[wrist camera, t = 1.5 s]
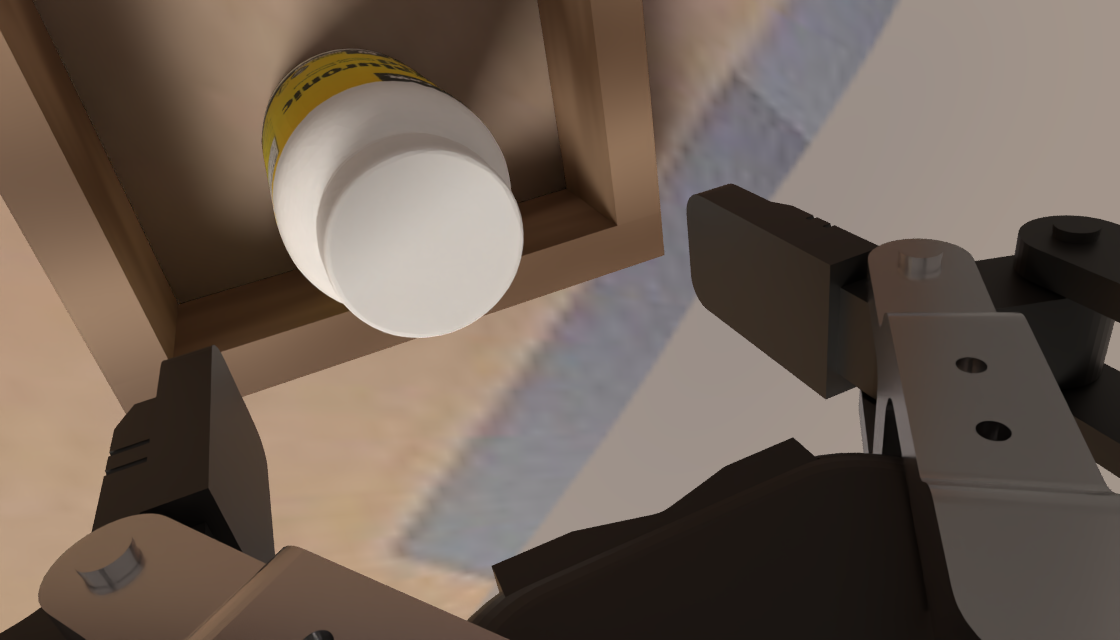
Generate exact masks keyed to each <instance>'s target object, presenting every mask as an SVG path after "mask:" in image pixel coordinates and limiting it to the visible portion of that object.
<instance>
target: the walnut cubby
mask: <svg viewBox="0 0 1120 640" xmlns="http://www.w3.org/2000/svg"><path fill="white" fill-rule="evenodd" d="M538 6H539V13H540V19H541V26H542V32H543V39H544V45H545V51H546V58H547V64H548V71H549V77H550V84H551V90H552V97H553V103H554V110H555V116H556V123H557V129H558V136H559V142H560V149H561V155H562V162H563V168H564V174H565V181H566V187H567V189H564V190H561V191H558V192H554V193H551V194H547V195H544V196H541V197H537V198H534V199H531V200H527V201H524V202H521V203H517V204H518V207H519V210H520V213H521V217H522V223H523V231H524V243H523V251H522V257H521V260H520V264H519V267H518V270H517V273H516V275H515V277H514V279H513V281H512V283H511V285H510V287H509V288H508V290H507V291H506V292H505V294H504V295H503V296H502V298H501V299H500V300H499V301H498V302H497V304H496V305H495V306H494V307H493V308H492V309H490V310H489V311H488V312H487V313H486V314H484V315H487V314H490V313H493V312H496V311H499V310H502V309H505V308H508V307H511V306H514V305H517V304H520V303H523V302H526V301H529V300H532V299H535V298H538V297H541V296H544V295H547V294H550V293H553V292H556V291H559V290H562V289H565V288H568V287H571V286H573V285H576V284H579V283H582V282H585V281H588V280H591V279H594V278H597V277H600V276H603V275H606V274H609V273H612V272H615V271H618V270H621V269H624V268H627V267H630V266H633V265H636V264H639V263H642V262H645V261H648V260H651V259H654V258H657V257H660V256H663V255H664V245H663V234H662V222H661V211H660V199H659V188H658V176H657V165H656V153H655V142H654V130H653V119H652V107H651V96H650V85H649V73H648V62H647V50H646V39H645V27H644V16H643V4H642V0H538ZM0 194H1V196H2V198H3V200H4V201H5V203H6V205H7V207H8V208H9V210H10V212H11V214H12V215H13V217H14V219H15V221H16V222H17V224H18V226H19V228H20V229H21V231H22V233H23V235H24V236H25V238H26V240H27V242H28V243H29V245H30V247H31V249H32V250H33V252H34V254H35V256H36V257H37V259H38V261H39V263H40V264H41V266H42V268H43V270H44V271H45V273H46V275H47V277H48V278H49V280H50V282H51V284H52V285H53V287H54V289H55V291H56V292H57V294H58V296H59V298H60V299H61V301H62V303H63V305H64V306H65V308H66V310H67V312H68V313H69V315H70V317H71V319H72V320H73V322H74V324H75V326H76V327H77V329H78V331H79V333H80V334H81V336H82V338H83V340H84V341H85V343H86V345H87V347H88V348H89V350H90V352H91V354H92V355H93V357H94V359H95V361H96V362H97V364H98V366H99V368H100V369H101V371H102V373H103V375H104V376H105V378H106V380H107V382H108V383H109V385H110V387H111V389H112V390H113V392H114V394H115V396H116V397H117V399H118V401H119V403H120V404H121V406H122V408H123V410H124V411H125V413H126V414H127V413H128V412H129V410H130V409H131V408H132V407H133V405H134V404H137V403H140V402H143V401H146V400H149V399H152V398H155V397H156V394H157V387H158V381H159V374H160V367H161V362H162V361H164V360H167V359H170V358H173V357H176V356H180V355H183V354H186V353H189V352H192V351H195V350H199V349H202V348H205V347H208V346H211V345H215V346H217V348H218V349H219V350H220V352H221V354H222V356H223V357H224V360H225V362H226V364H227V366H228V368H229V370H230V372H231V375H232V377H233V379H234V381H235V383H236V385H237V388H238V390H239V392H240V394H241V396H242V397H243V396H246V395H249V394H252V393H255V392H258V391H261V390H264V389H267V388H270V387H273V386H276V385H279V384H282V383H285V382H288V381H291V380H294V379H297V378H300V377H303V376H306V375H309V374H312V373H315V372H318V371H321V370H324V369H327V368H330V367H332V366H335V365H338V364H341V363H344V362H347V361H350V360H353V359H356V358H359V357H362V356H365V355H368V354H371V353H374V352H377V351H380V350H383V349H386V348H389V347H392V346H395V345H398V344H401V343H404V342H407V341H410V340H413V339H416V338H411V337H401V336H396V335H392V334H388V333H385V332H383V331H380V330H378V329H376V328H373V327H371V326H370V325H368V324H367V323H365V322H363V321H362V320H360V319H359V318H358V317H357V316H355V315H354V314H353V313H352V312H351V311H350V310H349V309H348V308H347V307H346V306H345V305H344V304H342V303H340V302H338V301H336V300H334V299H333V298H331V297H329V296H328V295H326V294H325V293H323V292H322V291H321V290H319V289H318V288H317V287H316V286H315V285H313V284H312V283H311V282H310V281H309V280H308V279H307V278H306V277H305V276H304V275H303V273H302V272H301V271H300V270H299V269H296V270H293V271H289V272H286V273H283V274H279V275H276V276H272V277H269V278H266V279H262V280H259V281H256V282H252V283H249V284H246V285H242V286H239V287H236V288H232V289H229V290H226V291H222V292H219V293H215V294H212V295H209V296H205V297H202V298H199V299H195V300H192V301H189V302H185V303H182V304H179V305H178V303H177V301H176V299H175V297H174V295H173V293H172V290H171V288H170V286H169V284H168V282H167V280H166V278H165V276H164V274H163V272H162V270H161V268H160V265H159V263H158V261H157V259H156V257H155V255H154V253H153V251H152V249H151V247H150V245H149V243H148V240H147V238H146V236H145V234H144V232H143V230H142V228H141V226H140V224H139V222H138V220H137V217H136V215H135V213H134V211H133V209H132V207H131V205H130V203H129V201H128V199H127V197H126V195H125V192H124V190H123V188H122V186H121V184H120V182H119V180H118V178H117V176H116V174H115V172H114V169H113V167H112V165H111V163H110V161H109V159H108V157H107V155H106V153H105V151H104V149H103V147H102V144H101V142H100V140H99V138H98V136H97V134H96V132H95V130H94V128H93V126H92V124H91V122H90V119H89V117H88V115H87V113H86V111H85V109H84V107H83V105H82V103H81V101H80V99H79V96H78V94H77V92H76V90H75V88H74V86H73V84H72V82H71V80H70V78H69V76H68V74H67V71H66V69H65V67H64V65H63V63H62V61H61V59H60V57H59V55H58V53H57V51H56V49H55V46H54V44H53V42H52V40H51V38H50V36H49V34H48V32H47V30H46V28H45V26H44V23H43V21H42V19H41V17H40V15H39V13H38V11H37V9H36V7H35V5H34V3H33V1H32V0H0ZM484 315H483V316H484Z"/></svg>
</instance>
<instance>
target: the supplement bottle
mask: <svg viewBox="0 0 1120 640" xmlns="http://www.w3.org/2000/svg"><path fill="white" fill-rule="evenodd" d="M262 149H263V156H264V162H265V167H266V172H267V178H268V183H269V188H270V194H271V199H272V204H273V210H274V215H275V219H276V223H277V226H278V229H279V232H280V235H281V238H282V240H283V243H284V245H285V247H286V249H287V251H288V253H289V255H290V256H291V258H292V260H293V262H294V263H295V265H296V266H297V267H298V269H299V270H300V271H301V272H302V273H303V275H304V276H305V277H306V278H307V279H308V280H309V281H310V282H311V283H312V284H313V285H315V286H316V287H317V288H318V289H319V290H321V291H322V292H323V293H325V294H326V295H328V296H329V297H331V298H333V299H334V300H336V301H338V302H340V303H342V304H344V305H345V306H346V307H347V308H348V309H349V310H350V311H351V312H352V313H353V314H354V315H355V316H357V317H358V318H359V319H360V320H362V321H363V322H365V323H367V324H368V325H370V326H371V327H373V328H376V329H378V330H380V331H383V332H385V333H388V334H392V335H396V336H401V337H411V338H425V337H434V336H440V335H444V334H448V333H451V332H454V331H457V330H459V329H461V328H464V327H466V326H468V325H469V324H471V323H473V322H474V321H476V320H478V319H479V318H480V317H482V316H483V315H484V314H486V313H487V312H488V311H489V310H490V309H492V308H493V307H494V306H495V305H496V304H497V302H498V301H499V300H500V299H501V298H502V296H503V295H504V294H505V292H506V291H507V290H508V288H509V287H510V285H511V283H512V281H513V279H514V277H515V275H516V273H517V270H518V267H519V264H520V260H521V257H522V251H523V243H524V231H523V223H522V217H521V213H520V210H519V207H518V204H517V201H516V199H515V197H514V195H513V193H512V191H511V183H510V177H509V172H508V168H507V164H506V161H505V158H504V156H503V153H502V151H501V149H500V147H499V145H498V144H497V142H496V140H495V138H494V137H493V135H492V134H491V132H490V131H489V130H488V128H487V127H486V126H485V125H484V123H483V122H482V121H481V120H480V119H479V118H478V117H477V116H476V115H475V114H474V113H473V112H472V111H471V110H469V109H468V108H467V107H466V106H465V105H464V104H463V103H461V102H460V101H458V100H457V99H455V98H454V97H452V96H451V95H450V94H448V93H446V92H445V91H443V90H442V89H440V88H439V87H437V86H436V85H434V84H433V83H432V82H430V81H429V80H427V79H426V78H424V77H423V76H421V75H420V74H419V73H417V72H416V71H414V70H413V69H411V68H409V67H408V66H406V65H405V64H403V63H401V62H400V61H398V60H396V59H393V58H391V57H389V56H387V55H384V54H381V53H377V52H374V51H369V50H363V49H338V50H332V51H328V52H324V53H321V54H318V55H316V56H313V57H311V58H309V59H308V60H306V61H304V62H302V63H301V64H299V65H298V66H296V67H295V68H294V69H293V70H292V71H290V72H289V73H288V74H287V75H286V76H285V77H284V78H283V80H282V81H281V82H280V83H279V85H278V86H277V88H276V89H275V91H274V92H273V94H272V97H271V99H270V101H269V103H268V106H267V109H266V112H265V116H264V122H263V130H262Z"/></svg>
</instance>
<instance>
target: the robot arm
mask: <svg viewBox="0 0 1120 640" xmlns="http://www.w3.org/2000/svg"><path fill="white" fill-rule="evenodd" d="M687 225H688V239H689V252H690V266H691V278H692V283H693V287H694V290H695V292H696V294H697V297H698V298H699V300H700V302H701V303H702V305H703V306H704V307H705V308H706V309H707V310H709V311H710V312H711V313H713V314H714V315H715V316H717V317H718V318H719V319H721V320H722V321H723V322H725V323H726V324H727V325H729V326H730V327H731V328H733V329H734V330H735V331H736V332H738V333H739V334H741V335H742V336H743V337H744V338H746V339H747V340H748V341H750V342H751V343H752V344H754V345H755V346H756V347H758V348H759V349H760V350H761V351H763V352H764V353H766V354H767V355H768V356H769V357H771V358H772V359H773V360H775V361H776V362H777V363H779V364H780V365H781V366H783V367H784V368H785V369H787V370H788V371H789V372H790V373H792V374H793V375H795V376H796V377H797V378H798V379H800V380H801V381H802V382H804V383H805V384H806V385H808V386H809V387H810V388H812V389H813V390H814V391H816V392H817V393H818V394H819V395H821V396H822V397H823V398H825V399H828V398H831V397H833V396H835V395H838V394H840V393H842V392H845V391H847V390H850V389H852V388H855V387H858V388H859V389H860V397H859V415H860V425H861V433H862V442H863V451H864V453H836V454H827V455H819V456H814V455H813V454H811V453H810V452H809V451H808V450H807V449H805V448H804V447H803V446H802V445H801V444H800V443H799V442H798V441H796V440H795V439H794V438H791V439H788V440H786V441H784V442H781V443H779V444H776V445H774V446H772V447H769V448H767V449H765V450H762V451H760V452H758V453H755V454H753V455H751V456H749V457H746V458H744V459H742V460H739V461H737V462H734V463H732V464H730V465H727V466H725V467H724V468H722V469H721V470H720V471H718V472H717V473H716V474H714V475H713V476H711V477H710V478H709V479H707V480H706V481H705V482H703V483H702V484H701V485H699V486H698V487H697V488H695V489H694V490H693V491H691V492H690V493H688V494H687V495H686V496H684V497H683V498H682V499H681V500H679V501H678V502H676V503H675V504H673V505H672V506H671V507H669V508H668V509H666V510H665V511H663V512H660V513H657V514H654V515H649V516H644V517H639V518H635V519H630V520H625V521H621V522H615V523H611V524H606V525H601V526H597V527H592V528H587V529H582V530H577V531H573V532H570V533H568V534H565V535H563V536H561V537H558V538H556V539H554V540H551V541H549V542H547V543H544V544H542V545H540V546H537V547H535V548H533V549H530V550H528V551H526V552H523V553H521V554H518V555H516V556H514V557H511V558H509V559H507V560H504V561H502V562H500V563H497V564H495V565H493V566H492V569H493V572H494V576H495V579H496V582H497V586H498V589H499V594H497V595H496V596H495V597H493V598H492V599H491V600H489V601H488V602H487V603H485V604H484V605H483V606H482V607H481V608H480V609H479V610H478V611H476V612H475V613H474V614H473V615H472V616H471V617H470V618H469V619H468V620H467V621H466V620H464V619H461V618H459V617H457V616H455V615H452V614H450V613H448V612H446V611H443V610H441V609H439V608H437V607H434V606H432V605H430V604H427V603H425V602H423V601H421V600H418V599H416V598H414V597H412V596H409V595H407V594H405V593H403V592H400V591H398V590H396V589H393V588H391V587H389V586H387V585H384V584H382V583H380V582H378V581H375V580H373V579H371V578H368V577H366V576H364V575H362V574H359V573H357V572H355V571H353V570H350V569H348V568H346V567H344V566H341V565H339V564H337V563H334V562H332V561H330V560H328V559H325V558H323V557H321V556H319V555H316V554H314V553H312V552H309V551H307V550H305V549H302V548H300V547H296V546H286V547H283V548H282V549H281V550H280V551H279V552H278V553H277V554H276V555H275V550H274V539H273V527H272V515H271V504H270V492H269V480H268V469H267V461H266V456H265V452H264V449H263V445H262V442H261V439H260V437H259V434H258V431H257V429H256V427H255V424H254V422H253V420H252V418H251V416H250V414H249V411H248V409H247V407H246V405H245V403H244V401H243V398H242V396H241V394H240V392H239V390H238V388H237V385H236V383H235V381H234V379H233V377H232V375H231V372H230V370H229V368H228V366H227V364H226V362H225V360H224V357H223V356H222V354H221V352H220V350H219V349H218V348H217V346H215V345H211V346H208V347H205V348H202V349H199V350H195V351H192V352H189V353H186V354H183V355H180V356H176V357H173V358H170V359H167V360H164V361H162V362H161V367H160V374H159V381H158V387H157V394H156V397H155V398H152V399H149V400H146V401H143V402H140V403H137V404H134V405H133V407H132V408H131V409H130V410H129V412H128V413H127V414H126V415H125V417H124V418H123V419H122V420H121V422H120V423H119V424H118V425H117V427H116V428H115V429H114V433H113V438H112V443H111V447H110V455H111V456H109V457H108V461H107V465H106V470H105V472H106V476H104V479H103V483H102V488H101V492H100V497H99V501H98V506H97V510H96V515H95V519H94V524H93V528H92V533H90V534H88V535H86V536H85V537H84V538H82V539H81V540H79V541H78V542H76V543H75V544H74V545H73V546H71V547H70V548H69V549H68V550H66V551H65V552H64V553H63V554H62V555H61V556H60V557H59V558H58V559H57V560H56V562H55V563H54V564H53V565H52V566H51V567H50V569H49V570H48V572H47V573H46V575H45V576H44V578H43V581H42V583H41V585H40V589H39V593H38V598H39V603H40V605H41V608H39V609H38V610H37V611H35V612H34V613H33V614H31V615H30V616H28V617H27V618H25V619H23V620H22V621H20V622H19V623H17V624H15V625H14V626H12V627H10V628H9V629H7V630H5V631H4V632H2V633H0V640H1120V494H1116V493H1114V492H1112V491H1111V490H1110V489H1109V488H1108V487H1107V485H1106V483H1105V481H1104V479H1103V477H1102V475H1101V473H1100V471H1099V469H1098V467H1097V465H1096V463H1097V464H1099V465H1100V466H1102V467H1104V468H1105V469H1107V470H1108V471H1110V472H1111V473H1113V474H1114V475H1116V476H1117V477H1119V478H1120V371H1118V370H1116V369H1114V368H1112V367H1110V366H1108V365H1106V364H1104V360H1105V356H1106V353H1107V349H1108V345H1109V341H1110V337H1111V333H1112V330H1113V325H1114V322H1115V321H1117V322H1119V323H1120V225H1118V224H1115V223H1112V222H1109V221H1105V220H1101V219H1097V218H1091V217H1084V216H1067V215H1066V216H1049V217H1043V218H1038V219H1035V220H1032V221H1029V222H1027V223H1026V224H1024V225H1023V226H1022V227H1021V228H1020V230H1019V233H1018V238H1017V245H1016V250H1015V255H1012V256H1006V257H999V258H993V259H986V260H980V261H974V258H973V257H972V256H971V254H970V253H969V252H967V251H966V250H964V249H963V248H961V247H959V246H957V245H954V244H951V243H948V242H943V241H938V240H932V239H903V240H896V241H891V242H888V243H885V244H882V245H880V246H878V245H876V244H874V243H871V242H869V241H867V240H865V239H863V238H860V237H858V236H856V235H854V234H852V233H850V232H848V231H846V230H843V229H841V228H839V227H837V226H835V225H834V226H832V227H831V225H830V223H828V222H826V221H824V220H822V219H820V218H814V217H813V215H811V214H809V213H807V212H805V211H802V210H800V209H798V208H796V207H794V206H791V205H786V204H780V203H775V202H770V201H768V200H766V199H764V198H762V197H760V196H758V195H756V194H754V193H751V192H749V191H747V190H745V189H743V188H741V187H739V186H737V185H734V184H727V185H724V186H721V187H717V188H714V189H711V190H708V191H705V192H702V193H698V194H695V195H692V196H691V197H690V198H689V200H688V203H687Z"/></svg>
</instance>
